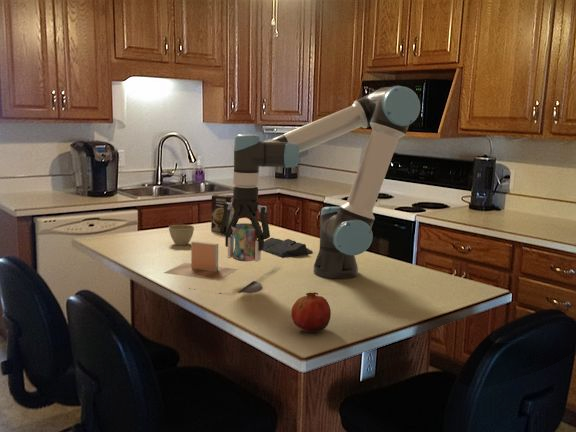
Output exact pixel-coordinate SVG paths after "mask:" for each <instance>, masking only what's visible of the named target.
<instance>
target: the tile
mask: <svg viewBox="0 0 576 432" xmlns="http://www.w3.org/2000/svg"><path fill="white" fill-rule="evenodd" d="M190 247H191V252H190V253H191V268H193V269H201V270H209V271H217V270H218V267H219V243H215V242H208V241H207V242H206V241H198V240H193V241H191V246H190Z"/></svg>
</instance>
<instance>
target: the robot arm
mask: <svg viewBox="0 0 576 432" xmlns="http://www.w3.org/2000/svg"><path fill="white" fill-rule="evenodd" d="M420 111H421V103H420V99H419V97H418V95H417V94H416V92H415V91H414V90H412V89H411V88H409V87H407V86H401V85H393V86H384V87H381V88H378V89H376V90H374V91H372V92H370V93H369V94H367V95H365V96H362V97H361V98H358V99H355V100H354V101H353V103H352V105H349V106H348V107H346V108H343V109H340V110H337V111H336V112H333V113H331V114H329V115H326V116H324V117H322V118H319V119H316V120H314V121H312V122H309V123H307V124H305V125H302V126H301V127H298V128H295V129H294V130H290V131H288V132H285V133H283V134H281V135H279V136H277V137H274V138H269V139H266V140H264V141H261V138H260V135H258V134H250V133H246V134H241V133H240V134H236V136H235V138H234V148H233V185H234V186H233V191H232V192H233V193H232V194H233V202H232V203H229V202H227V203H224V204H223V207H224V213H223V218H222V223H221V228H220V231H219V234H220V235H223V236H224V237H225V238H224V239H225V241H224V243H225V245H224V246H225V247H226V248H227V259H231V258H232V255H233V253H234V249H235V237H234V235H233V234H234V233H233V230H232V228H231V226H232V227H234V228H235V226H236V224H238V222H239V220H240V218H241V217H244V218H248V219H249V221H250V222H251V224H252V225H253V228H254V229H255V233H256V235H257V240H256V241H255V260H254V262H255V263H256V262H257V263H258V262H259V261H261V258H262V257H261V255H262V252H263V251H262V250H263V249H264V241H265V240H267V239H269V238H271V233H270V227H269V220H268V209H269V208H268V206H267V205H260V203H259V187H258V186H259V175H260V174H259V171H260V167H262V168H264V167H268V168H286V169H287V168H296V167H297V166H298V165H299V162H300V153H302V152H304V151H307V150H309V149H311V148H314V147H317V146H319V145H322V144H323V143H325V142H328V141H331V140H333V139H335V138H338V137H340V136H343V135H345V134H348V133H350V132H352V131H354V130H357V129H359V128H362V129H367V128H369V127H371V130H372V131H371V134H370V136H369V138H368V142H367V144H366V147H365V150H364V153H363V156H362V159H361V161H360V164H359V166H358V169H357V172H356V175H355V177H354V179H353V180H354V181H353V183H352V186H351V189H350V192H349V195H348V197H347V200H346V202H345V203H343V204H341V205H339V206H324V207H322V208H321V209H320V210H321V211H320V217H319V218H320V225H319V226H320V227H319V230H320V231H319V251H318V253H317V256H316V259H315V261H314V264H313V274H315V275H317V276H319V277H322V278H327V279H328V278H329V279H339V280H340V279H351V278H355V277H356V276H358V273H359V267H358V264H357V263H358V262H357V260H356V256H359V255H361V254H363V253H365V252H366V251H367V250H368V249H369V248H370V246H371V245H372V242H373V237H374V235H373V231H372V228H373V224H374V221H375V219H376V218H375V216H374V213H373V210H374V207H375V205H376V202H377V199H378V197H379V194H380V191H381V188H382V186H383V184H384V183H383V182H384V180H385V178H386V175H387V172H388V169H389V166H390V164H391V161H392V158H393V156H394V154H395V150H396V147H397V146H398V142H399V140H400V139H401V138H403V137H405V136H406V135H407V131H408V130H409V126H410V125H411V124H413V123H414V122H415V121H416V120H417V118H418V117H419V114H420ZM232 206H233V208H234V215H233V218H232V221H231V223H230V225H229V227H228V229H227V226H228V222H229V217H230V212H231V209H232ZM257 211H258V212H259V213H260V214H259V217H260V222H259V220H258V215H257ZM260 223H261V224H260ZM260 226H261V227H260Z"/></svg>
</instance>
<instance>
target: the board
mask: <svg viewBox="0 0 576 432" xmlns="http://www.w3.org/2000/svg"><path fill="white" fill-rule="evenodd" d="M237 270H238V269H237V268H230V267H222V266H218V270H217V271H209V270H201V269H193V268H191V263H190V262H182V263H181V264H179V265H177V266H175V267H173V268H170V269H169V270H166V271H164V272H163V274H170V275H176V276H178V275H179V276H185V277H190V278H191V277H192V278H198V279H199V278H200V279H207V280H215V281H220V280H222V279H224V278H226V277H228V276H229V275H231V274H233V273H235V272H237Z"/></svg>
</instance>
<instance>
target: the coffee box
mask: <svg viewBox="0 0 576 432" xmlns="http://www.w3.org/2000/svg"><path fill="white" fill-rule="evenodd" d="M227 202H229V203H232V202H233V195H232V194H221V193H220V194H219V193H218V194H217V193H215V194H212V195H211V212H210V213H211V220H210V221H211V223H210V224H211V225H210V226H211V227H210V231H211V230H212V231H211V232H220V228H221V223H222V218H223V213H224V207H223V204H224V203H227ZM234 213H235V210H234V208H233V206H232V209H231V212H230V217H229V222H228V226H227V229H228V227H229V225H230V223H231V221H232V218H233V215H234Z"/></svg>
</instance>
